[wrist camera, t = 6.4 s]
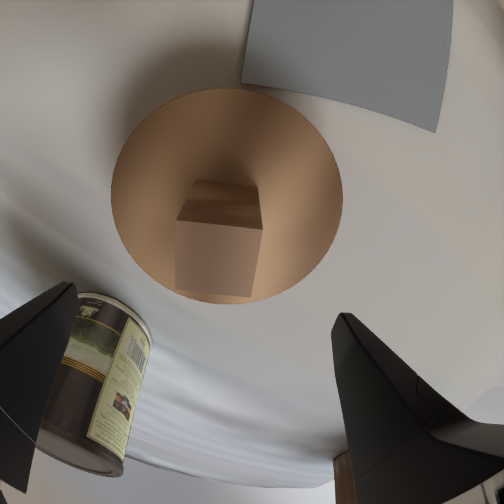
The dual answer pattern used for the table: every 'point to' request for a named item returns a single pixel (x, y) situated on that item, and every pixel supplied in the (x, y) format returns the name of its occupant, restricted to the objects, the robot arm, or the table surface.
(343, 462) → the plant pot
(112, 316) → the coffee can
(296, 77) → the mat
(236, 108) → the lid
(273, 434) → the table surface
